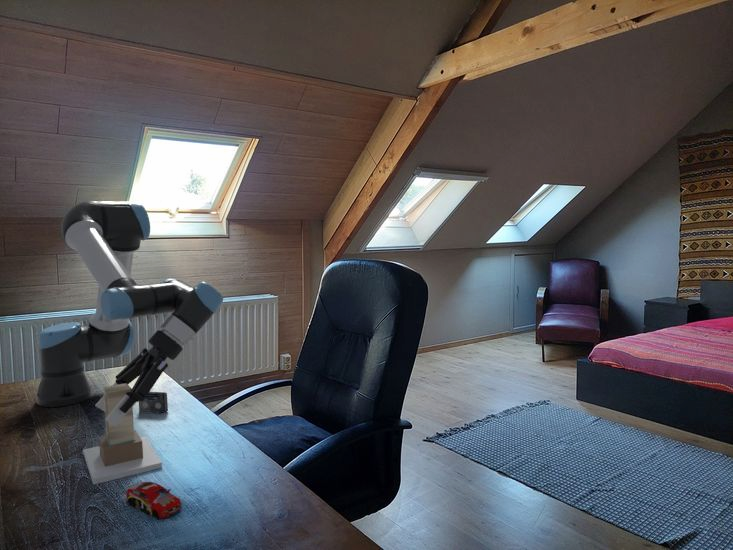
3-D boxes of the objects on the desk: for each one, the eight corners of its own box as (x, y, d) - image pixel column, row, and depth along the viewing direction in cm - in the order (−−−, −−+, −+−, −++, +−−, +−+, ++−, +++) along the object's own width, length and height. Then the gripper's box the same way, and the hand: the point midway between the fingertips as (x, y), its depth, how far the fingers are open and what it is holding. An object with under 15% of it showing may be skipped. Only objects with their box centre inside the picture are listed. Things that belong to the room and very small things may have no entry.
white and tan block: (83, 454, 131) (81, 432, 130) (145, 440, 138) (144, 420, 138) (93, 484, 116) (91, 460, 115) (162, 467, 123) (160, 444, 123)
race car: (186, 512, 105) (186, 492, 105) (161, 524, 101) (160, 504, 100) (147, 491, 113) (146, 473, 112) (122, 502, 108) (121, 483, 108)
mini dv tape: (168, 412, 159) (166, 391, 158) (165, 413, 157) (164, 393, 157) (142, 410, 160) (141, 390, 160) (139, 412, 159) (138, 392, 158)
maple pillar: (106, 437, 127) (103, 387, 126) (129, 432, 130) (126, 383, 128) (110, 444, 123) (107, 392, 122) (134, 439, 126) (131, 388, 124)
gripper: (199, 357, 124) (130, 440, 116) (169, 339, 142) (107, 410, 135) (174, 337, 120) (101, 422, 113) (146, 321, 139) (82, 393, 131)
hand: (104, 415), depth 124 cm, fingers open, 10 cm apart
